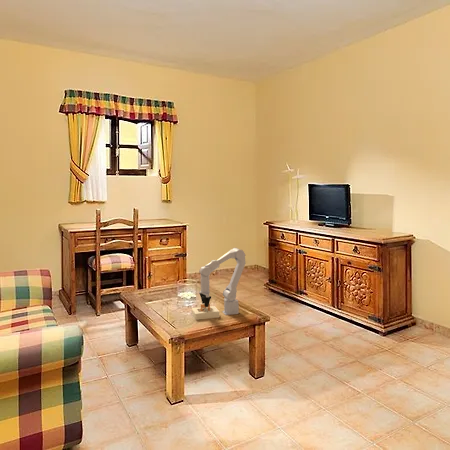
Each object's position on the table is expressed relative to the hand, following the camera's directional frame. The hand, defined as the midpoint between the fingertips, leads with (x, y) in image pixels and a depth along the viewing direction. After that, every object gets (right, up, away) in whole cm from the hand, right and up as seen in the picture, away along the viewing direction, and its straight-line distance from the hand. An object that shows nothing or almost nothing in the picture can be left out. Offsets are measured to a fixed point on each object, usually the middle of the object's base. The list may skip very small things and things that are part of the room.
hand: (205, 305), depth 261 cm
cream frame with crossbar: (0, -7, +1) cm, 7 cm away
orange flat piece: (0, -5, 0) cm, 5 cm away
